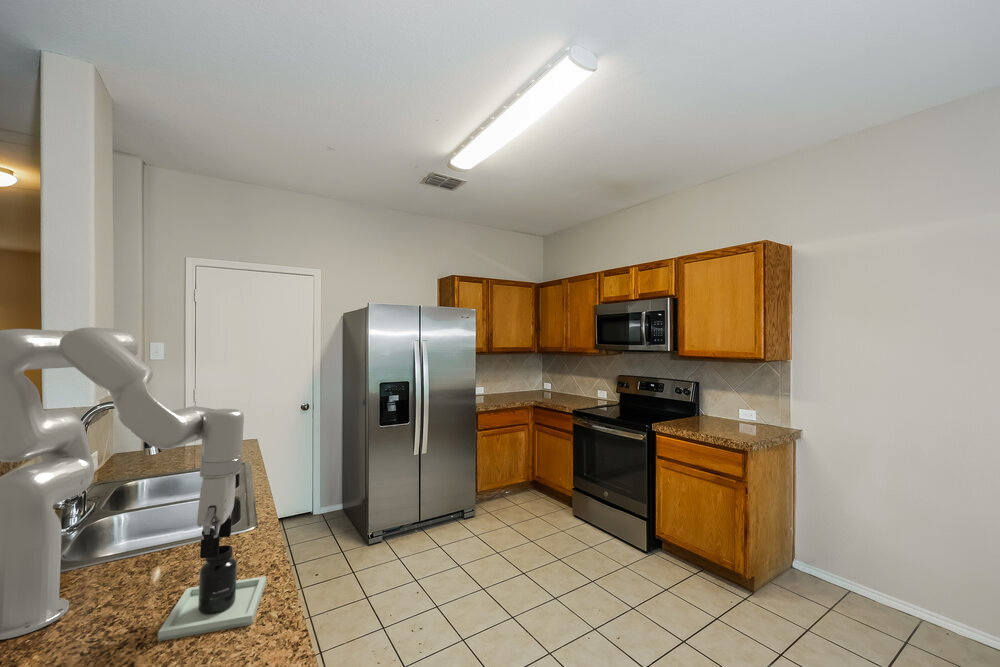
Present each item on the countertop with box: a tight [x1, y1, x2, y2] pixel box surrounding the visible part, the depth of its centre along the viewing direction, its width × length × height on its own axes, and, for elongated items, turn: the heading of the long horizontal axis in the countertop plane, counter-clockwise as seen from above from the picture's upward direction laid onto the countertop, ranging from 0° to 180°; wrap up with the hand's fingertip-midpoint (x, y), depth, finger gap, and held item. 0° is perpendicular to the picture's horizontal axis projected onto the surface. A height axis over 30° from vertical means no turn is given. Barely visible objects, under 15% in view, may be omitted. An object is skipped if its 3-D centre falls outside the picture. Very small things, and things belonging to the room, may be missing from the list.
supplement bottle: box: [198, 544, 238, 614], centre depth 94 cm, size 7×7×12 cm
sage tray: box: [157, 575, 267, 642], centre depth 93 cm, size 16×16×2 cm
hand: (216, 546), depth 94 cm, fingers open, 9 cm apart
